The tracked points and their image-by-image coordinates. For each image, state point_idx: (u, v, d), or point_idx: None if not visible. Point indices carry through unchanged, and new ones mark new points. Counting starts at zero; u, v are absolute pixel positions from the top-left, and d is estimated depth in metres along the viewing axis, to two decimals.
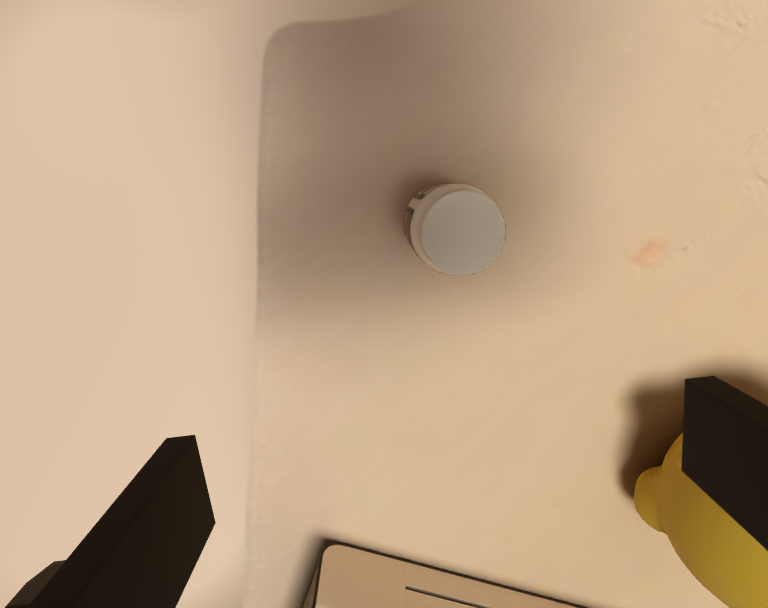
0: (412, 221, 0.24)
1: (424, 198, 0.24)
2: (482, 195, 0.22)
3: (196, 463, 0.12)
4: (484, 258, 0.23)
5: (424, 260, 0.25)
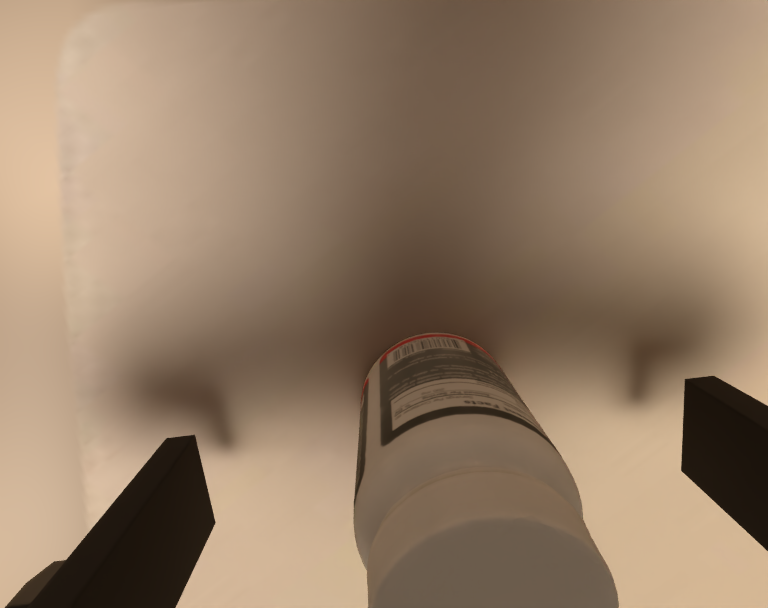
0: (357, 509, 0.10)
1: (387, 457, 0.09)
2: (554, 529, 0.07)
3: (196, 463, 0.12)
4: None
5: None
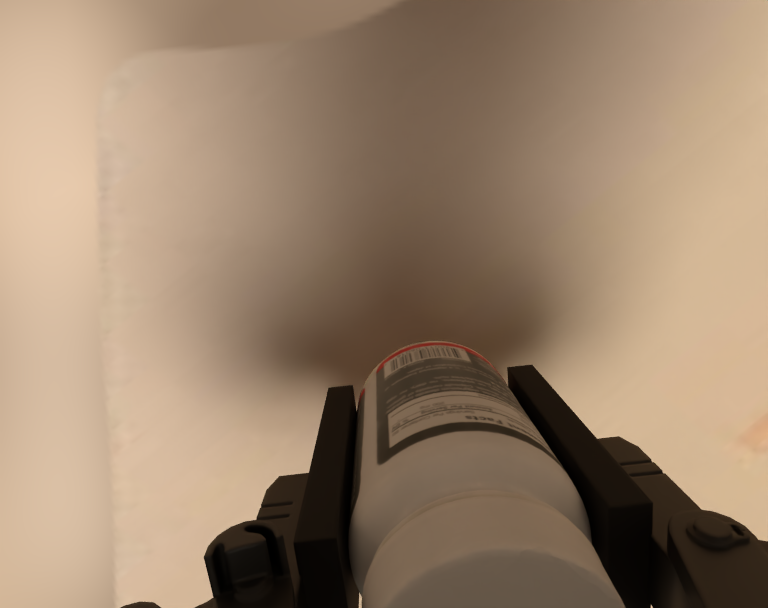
0: (352, 533, 0.09)
1: (383, 477, 0.09)
2: (564, 561, 0.07)
3: (355, 409, 0.14)
4: None
5: None
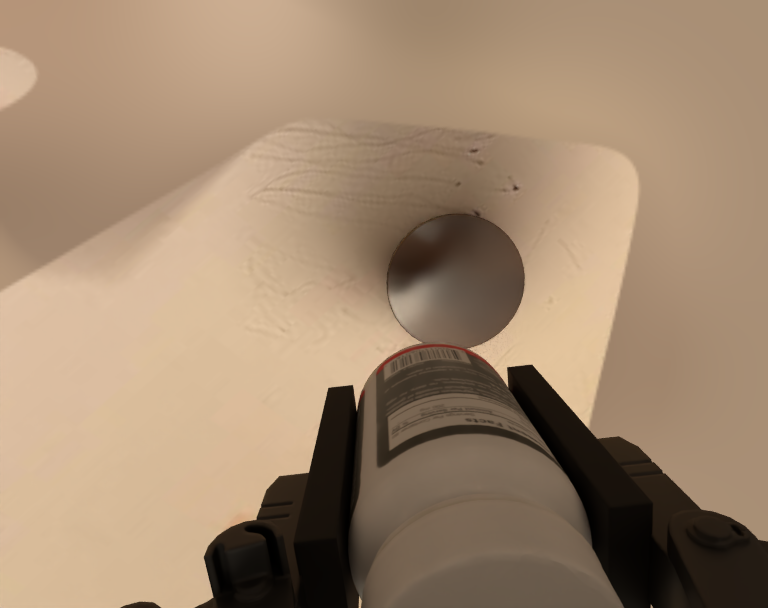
0: (351, 536, 0.09)
1: (383, 480, 0.09)
2: (564, 565, 0.07)
3: (355, 409, 0.14)
4: None
5: None
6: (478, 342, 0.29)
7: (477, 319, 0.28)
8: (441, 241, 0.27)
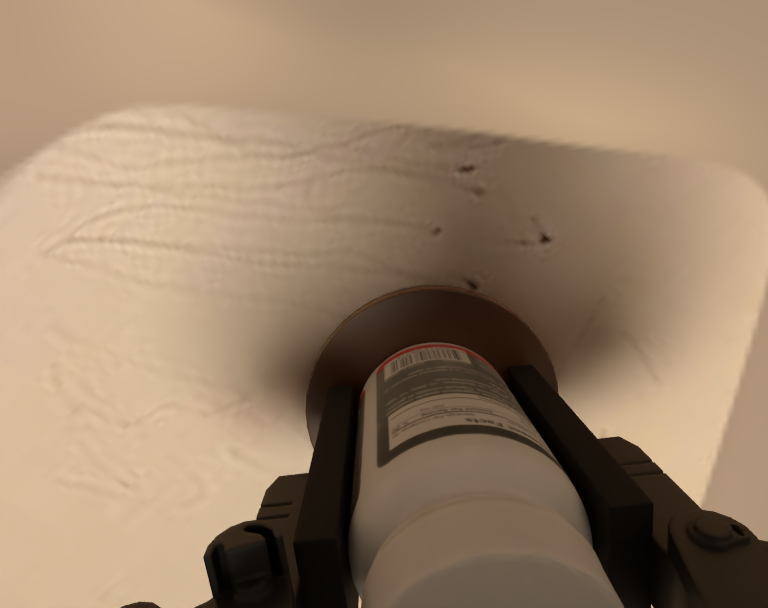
0: (351, 536, 0.09)
1: (383, 480, 0.09)
2: (564, 565, 0.07)
3: (355, 409, 0.14)
4: None
5: None
6: None
7: None
8: (405, 337, 0.14)
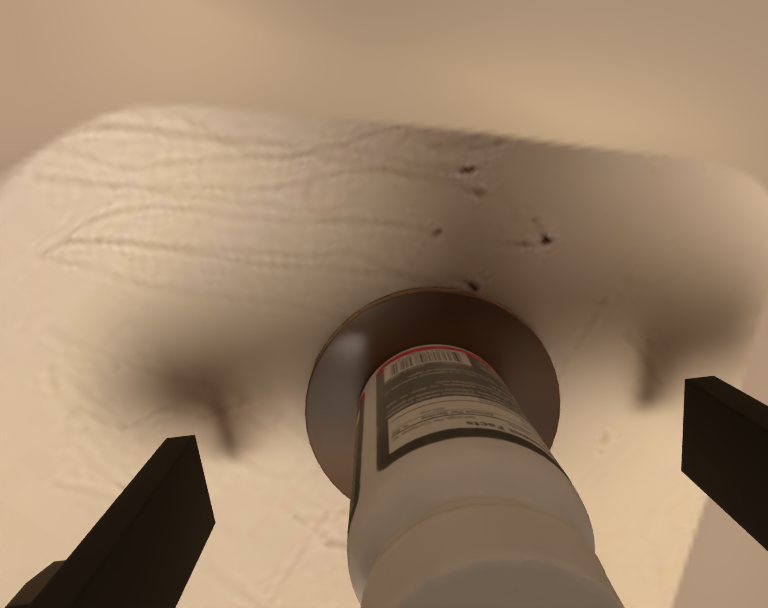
0: (351, 540, 0.09)
1: (383, 484, 0.09)
2: (567, 571, 0.06)
3: (196, 463, 0.12)
4: None
5: None
6: None
7: None
8: (405, 339, 0.14)
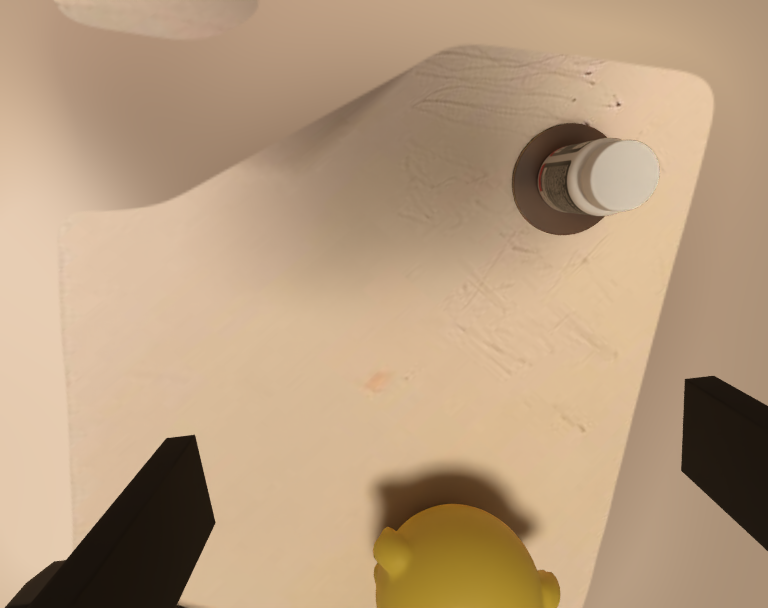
0: (571, 169, 0.29)
1: (583, 149, 0.29)
2: (643, 144, 0.27)
3: (196, 463, 0.12)
4: (640, 197, 0.28)
5: (579, 202, 0.30)
6: (581, 229, 0.36)
7: None
8: (559, 145, 0.35)
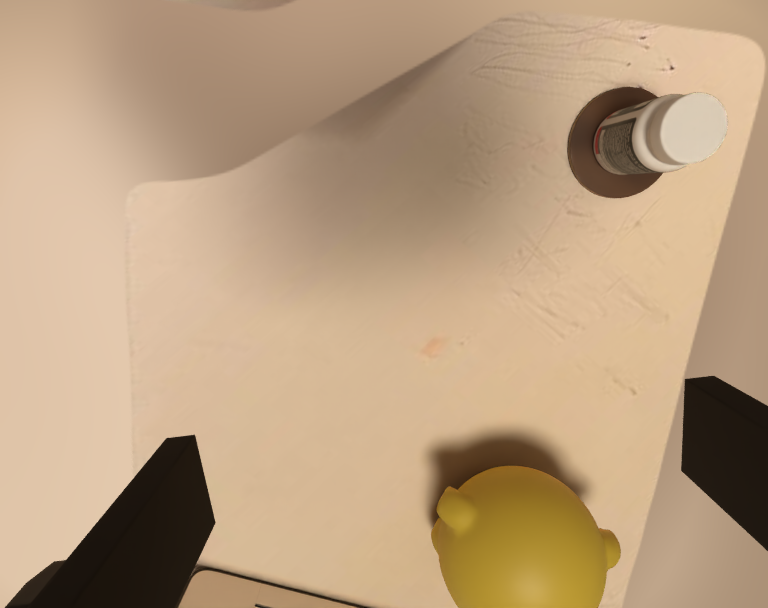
0: (637, 125, 0.30)
1: (648, 106, 0.30)
2: (712, 96, 0.28)
3: (196, 463, 0.12)
4: (708, 149, 0.28)
5: (644, 158, 0.30)
6: (635, 192, 0.37)
7: None
8: (614, 108, 0.36)
